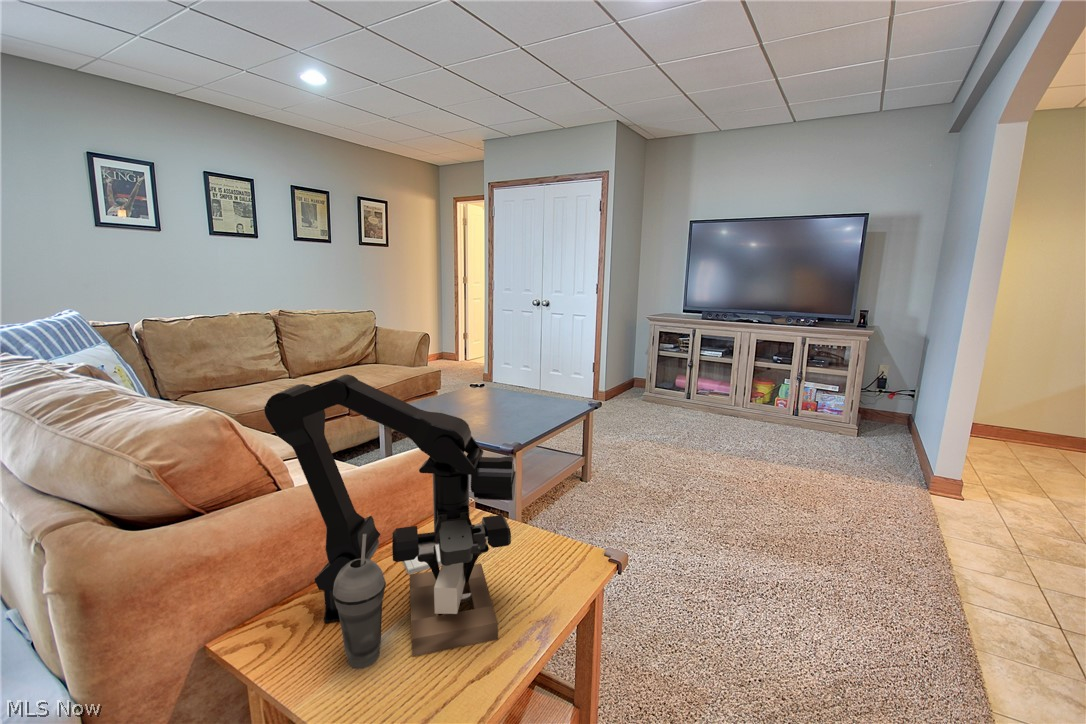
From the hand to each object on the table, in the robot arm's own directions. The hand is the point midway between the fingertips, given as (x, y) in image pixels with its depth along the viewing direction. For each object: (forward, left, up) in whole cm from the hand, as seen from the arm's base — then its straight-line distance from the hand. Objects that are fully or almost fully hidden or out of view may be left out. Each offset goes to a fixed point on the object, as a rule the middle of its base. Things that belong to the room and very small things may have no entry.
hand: (453, 583), depth 80 cm
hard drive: (-2, +18, -6) cm, 19 cm away
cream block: (0, 0, -1) cm, 1 cm away
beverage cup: (-14, -6, -6) cm, 16 cm away
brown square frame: (0, 0, -6) cm, 6 cm away
